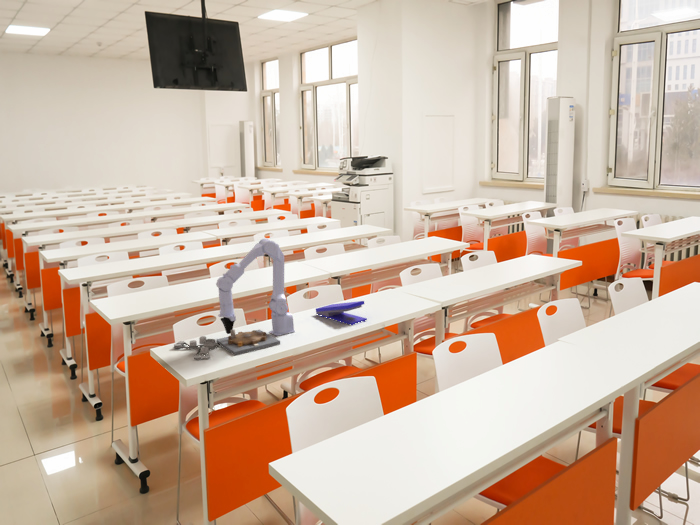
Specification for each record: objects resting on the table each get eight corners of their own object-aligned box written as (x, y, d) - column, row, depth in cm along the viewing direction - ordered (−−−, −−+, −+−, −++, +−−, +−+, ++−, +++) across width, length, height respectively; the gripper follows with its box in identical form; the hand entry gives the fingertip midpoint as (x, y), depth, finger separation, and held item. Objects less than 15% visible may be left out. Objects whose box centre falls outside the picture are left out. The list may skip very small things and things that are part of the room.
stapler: (350, 326, 265) (349, 306, 264) (314, 315, 286) (313, 297, 285) (368, 320, 273) (367, 301, 271) (332, 311, 294) (331, 292, 292)
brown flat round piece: (257, 331, 259) (256, 320, 258) (273, 340, 245) (272, 329, 244) (221, 339, 250) (220, 328, 249) (236, 349, 236) (235, 337, 235)
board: (259, 332, 262) (259, 328, 262) (280, 344, 244) (279, 339, 244) (216, 342, 251) (216, 338, 251) (234, 355, 233) (234, 350, 233)
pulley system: (202, 341, 258) (170, 347, 248) (202, 331, 257) (170, 337, 247) (231, 357, 237) (198, 364, 228) (231, 346, 236) (197, 353, 227)
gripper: (212, 302, 251) (215, 331, 254) (223, 308, 239) (226, 339, 242) (227, 299, 255) (230, 328, 257) (239, 305, 243) (241, 335, 245)
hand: (229, 333), depth 250 cm, fingers closed
